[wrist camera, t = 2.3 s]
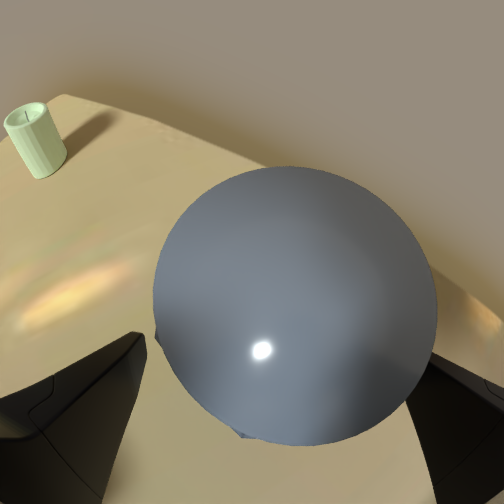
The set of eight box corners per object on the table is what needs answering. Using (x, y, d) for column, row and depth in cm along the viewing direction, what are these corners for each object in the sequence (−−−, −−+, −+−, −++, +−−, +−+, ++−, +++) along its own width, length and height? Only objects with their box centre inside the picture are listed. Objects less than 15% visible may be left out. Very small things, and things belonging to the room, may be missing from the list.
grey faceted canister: (307, 307, 18) (407, 187, 7) (305, 403, 15) (443, 418, 4) (209, 300, 18) (185, 157, 7) (201, 398, 15) (134, 432, 4)
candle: (70, 143, 25) (48, 88, 17) (63, 171, 22) (34, 112, 15) (38, 156, 24) (13, 106, 16) (29, 185, 21) (-4, 132, 14)
